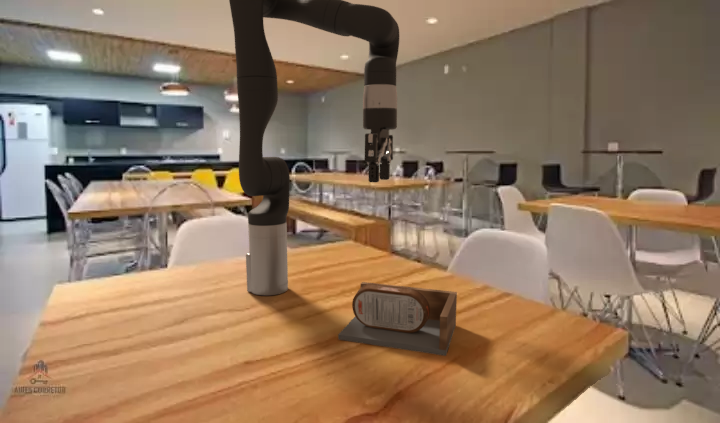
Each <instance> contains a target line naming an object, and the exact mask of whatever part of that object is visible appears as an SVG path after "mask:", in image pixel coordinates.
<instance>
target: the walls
mask: <svg viewBox="0 0 720 423" xmlns="http://www.w3.org/2000/svg"><path fill="white" fill-rule="evenodd" d="M367 284H378V282H376V283H374V282H365V281H362V282H361V283H360V288H361V287H363V286H364V285H367ZM381 284H382V285H387V284H385V283H381ZM388 285H389V286H398V287H406V288H413V289H415V290H418V291H419V292H421V293H422V294H423V295H424V296H425V297H426V299H427V300H428V302H429V305H430V316H429V318H428V319H430V320H438V321H440V336H439V349H440V350H446V349H447V346H448V343H449V340H450V337H451V334H452V331H453V328H454V325H455V322H456V323H457V305H458V304H457V297H458V292H457V291H452V290H441V289H433V288H432V289H431V288H422V287H414V286H404V285H395V284H394V285H393V284H388Z"/></svg>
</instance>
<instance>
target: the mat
mask: <svg viewBox="0 0 720 423" xmlns="http://www.w3.org/2000/svg"><path fill="white" fill-rule="evenodd" d="M456 325H457V321H456V322H455V325H454V328H453V331H452V334H451V337H450V340H449V343H448V346H447V349H446V350H440V349H439V336H440V321H438V320H430V319H428V320H427V322H426V323H425V325H424V326H423V327H422V328H421V329H420V330H418V331H417V332H413V333H404V332H398V331H391V330H384V329H378V328H371V327H367V326H365V325H363V324H362V323H361V322H360V321H359V320H358V319H357V318H356V317H355V316H354V317H353V318H352V319H351V320H350V321H349V322H348V324H347V325H346V326H345V327H344V328H343V329H342V330H341V331H340V332H339V333H338V334H337V335H338V341H346V342H353V343H360V344H365V345H373V346H379V347H386V348H393V349H397V350H398V349H399V350H406V351H412V352H419V353H424V354H425V353H426V354H433V355H436V356H437V355H439V356H444V357H446V356H447V353H448V351H449V347H450V344H451V342H452V339H453V335H454V332H455V329H456Z"/></svg>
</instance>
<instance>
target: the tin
mask: <svg viewBox="0 0 720 423" xmlns="http://www.w3.org/2000/svg"><path fill="white" fill-rule="evenodd" d="M382 284H383V283H377V284H367V285H364V286H363V287H361V286H360V288H359V289H358V291H357V292H356V293H355V295H354V296H353V299H352V302H351V303H352V304H351V305H352V312H353V315H354V317H356V318H357V319H358V320H359V321H360V322H361V323H362V324H363V325H365V326H367V327H371V328H378V329H384V330H391V331H398V332H404V333H413V332H417V331H418V330H420V329H421V328H422V327H423V326H424V325H425V323H426V322H427V320H428V318H429V316H430V305H429V302H428V300H427V299H426V297H425V296H424V295H423V294H422V293H421V292H419V291H418V290H415V289H413V288H406V287H407V286H405V287H398V286H399V285H396V286H389V285H390V284H386V285H382Z"/></svg>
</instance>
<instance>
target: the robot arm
mask: <svg viewBox="0 0 720 423" xmlns="http://www.w3.org/2000/svg"><path fill="white" fill-rule="evenodd" d="M228 2H229V7H230V14H231V21H232V25H233V34H234V36H233V37H234V48H235V49H234V50H235V51H234V52H235V61H236V62H235V63H236V66H235V67H236V89H237V90H236V91H237V99H238V100H237V102H238V114H239V116H238V117H239V118H238V119H239V146H238V148H239V149H238V150H239V152H238V177H239V178H238V179H239V183H240V187H241V190H242V191H243V192H244V194H245V195H247V196H248V197H259V196H260V197H261V196H262V200H261V201H260V203H259V204H258V205H257V206H255V207H254V208H252V209H251V210H250V211H248V213H247V228H248V251H249V252H247V253H246V254H245V265H246V266H245V267H246V268H245V269H246V291H247V292H249V293H252V294H253V295H257V296H274V295H275V296H276V295H280V294H284V293H285V292H286V291H288V290H289V278H288V276H289V275H288V274H289V273H288V265H289V264H288V236H287V235H288V232H287V231H288V228H287V227H288V225H287V216H288V212H289V210H290V192H291V190H290V189H291V188H290V186H291V184H290V183H291V182H290V181H291V179H290V177H291V176H290V169H289V166H288V165H287V162H286V161H285V160H284V158H281V157H279V156H264V155H263V143H264V135H265V132H266V129H267V127H268V124H269V122H270V121H271V118H272V117H273V115H274V111H275V110H276V107H277V105H278V101H279V100H278V98H279V91H278V90H279V89H278V75H277V73H278V72H277V70H276V69H277V68H276V64H275V61H274V58H273V56H272V55H273V54H272V52H271V50H270V49H271V48H270V47H269V44H268V41H267V38H266V33H265V24H264V18H269V19H276V20H277V19H279V20H285V21H291V22H295V23H299V24H302V25H306V26H310V27H311V28H315V29H318V30H321V31H324V32H328V33H331V34H334V35H338V36H341V37H354V38H357V39H361V40H363V41H366V42H368V44H369V45H368V59H366V61H365V64H364V68H363V69H364V72H363V74H364V75H363V76H364V82H363V83H364V84H363V85H364V87H363V93H362V94H363V95H362V128H363V129H364V130H366V131H367V130H370V133H365V134H364V162H365V163H366V164H367V165H368V182H369V183H379V181H380V180H381V181H384V180H385V181H388V180H390V177H391V176H390V170H391V169H390V168H391V167H390V165H391V163H392V161H393V160H394V136H393V134H389V131H390V130H396V129H398V128H397V127H398V92H397V60H398V54H399V48H400V47H399V46H400V28H399V24H398V22H397V21H396V19H395V17H393V15H392V14H391V13H390V12H389V11H388V10H386V9H383V8H381V7H379V6H375V5H369V4H359V3H352V2H349V1H346V0H229V1H228Z"/></svg>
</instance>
